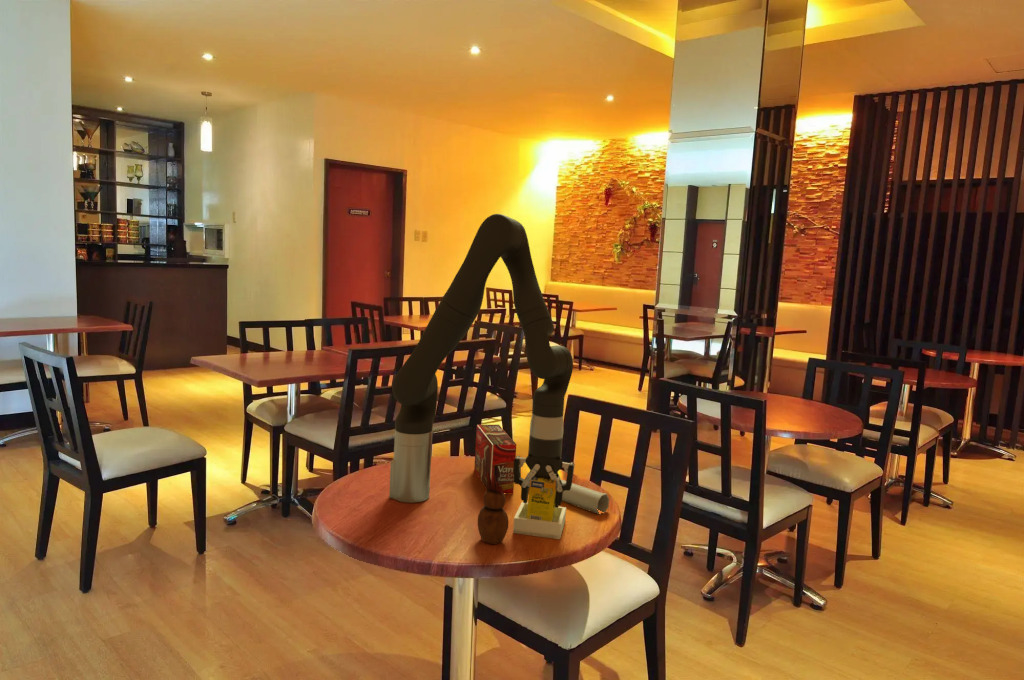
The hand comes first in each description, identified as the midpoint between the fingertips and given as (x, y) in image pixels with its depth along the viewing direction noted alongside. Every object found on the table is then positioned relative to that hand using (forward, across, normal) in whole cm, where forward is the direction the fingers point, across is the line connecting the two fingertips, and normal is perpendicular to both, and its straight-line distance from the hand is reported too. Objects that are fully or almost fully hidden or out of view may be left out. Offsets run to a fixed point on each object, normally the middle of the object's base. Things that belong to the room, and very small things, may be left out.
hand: (541, 504), depth 159 cm
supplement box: (+5, 0, 0) cm, 5 cm away
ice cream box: (+6, -17, +28) cm, 33 cm away
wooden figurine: (+6, -9, -11) cm, 15 cm away
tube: (+6, +3, +20) cm, 21 cm away
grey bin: (+6, 0, 0) cm, 6 cm away
